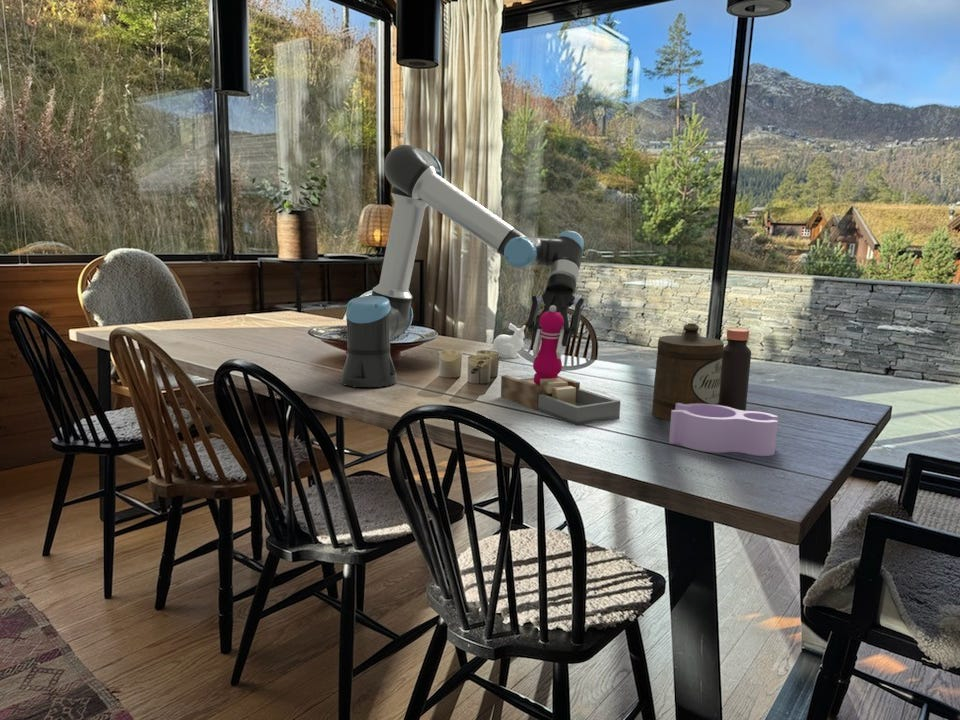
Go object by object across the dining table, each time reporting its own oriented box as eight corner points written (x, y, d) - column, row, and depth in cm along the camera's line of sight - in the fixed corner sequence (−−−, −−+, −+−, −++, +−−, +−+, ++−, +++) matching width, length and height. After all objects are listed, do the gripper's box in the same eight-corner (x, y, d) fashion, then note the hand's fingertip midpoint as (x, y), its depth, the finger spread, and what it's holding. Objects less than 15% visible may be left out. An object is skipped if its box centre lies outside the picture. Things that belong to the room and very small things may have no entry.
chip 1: (539, 389, 166) (540, 379, 166) (558, 387, 168) (558, 378, 168) (548, 393, 162) (549, 383, 161) (567, 392, 163) (567, 382, 163)
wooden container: (710, 427, 150) (719, 329, 146) (644, 417, 157) (650, 324, 153) (722, 413, 163) (730, 322, 159) (661, 404, 170) (667, 317, 166)
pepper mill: (559, 378, 174) (567, 302, 167) (560, 388, 167) (568, 310, 160) (531, 376, 174) (538, 300, 168) (531, 386, 167) (538, 307, 161)
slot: (500, 396, 175) (501, 375, 174) (541, 391, 181) (541, 371, 180) (537, 410, 162) (537, 388, 161) (578, 404, 169) (579, 382, 168)
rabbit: (520, 354, 235) (521, 320, 233) (529, 359, 226) (530, 323, 224) (487, 355, 232) (487, 320, 230) (494, 360, 224) (495, 324, 221)
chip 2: (552, 387, 160) (558, 389, 158) (570, 385, 162) (575, 387, 160) (551, 407, 161) (557, 410, 159) (569, 405, 163) (574, 408, 161)
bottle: (747, 410, 166) (755, 329, 162) (742, 416, 160) (750, 332, 156) (719, 406, 169) (726, 327, 165) (713, 412, 163) (720, 330, 160)
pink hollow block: (774, 443, 140) (777, 411, 139) (774, 461, 129) (777, 426, 128) (675, 431, 148) (677, 400, 147) (666, 447, 137) (669, 413, 135)
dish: (538, 410, 161) (538, 394, 161) (579, 404, 168) (580, 388, 167) (576, 425, 150) (576, 407, 149) (619, 417, 157) (620, 401, 156)
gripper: (598, 292, 176) (585, 366, 164) (530, 289, 181) (512, 360, 169) (596, 273, 170) (582, 348, 158) (526, 270, 175) (507, 342, 163)
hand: (546, 354), depth 164 cm, fingers closed on pepper mill, 5 cm apart
